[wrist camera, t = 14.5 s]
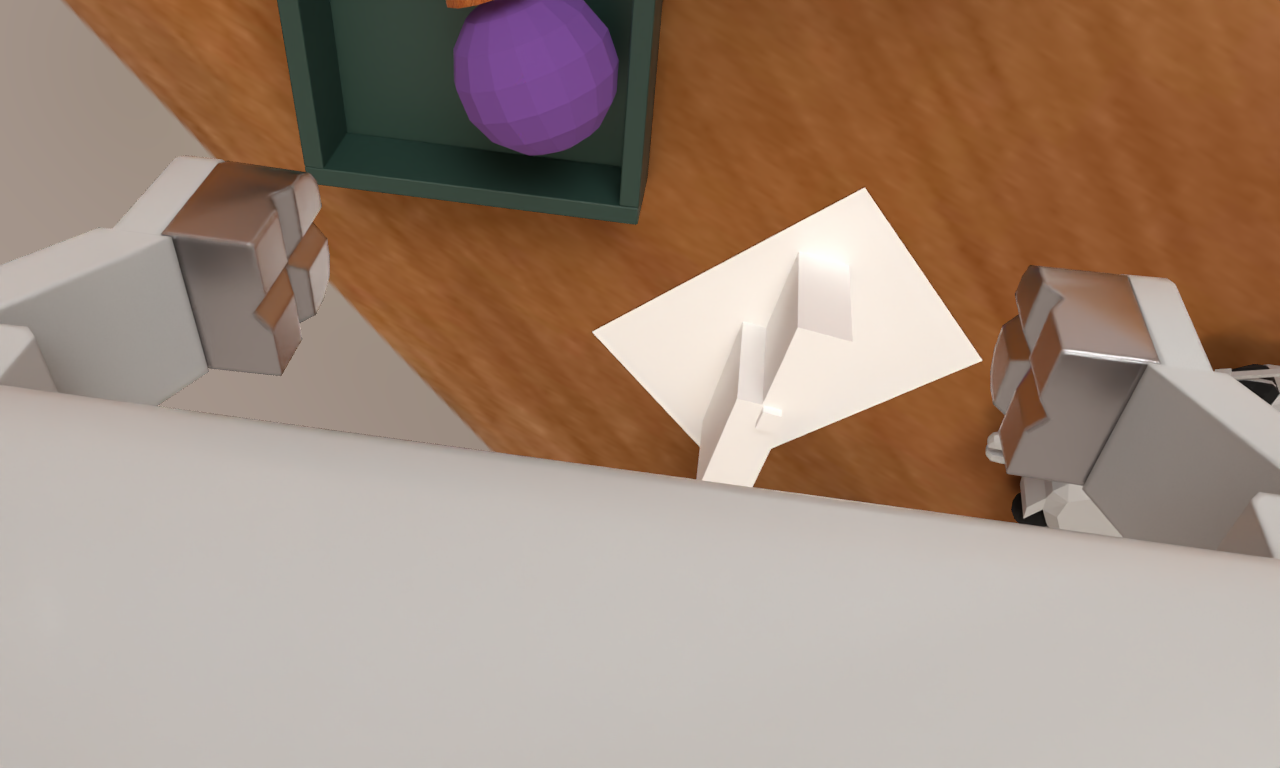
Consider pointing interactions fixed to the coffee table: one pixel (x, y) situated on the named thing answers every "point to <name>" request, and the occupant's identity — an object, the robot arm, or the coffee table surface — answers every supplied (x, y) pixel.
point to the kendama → (534, 72)
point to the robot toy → (1069, 501)
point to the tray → (456, 111)
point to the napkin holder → (790, 337)
